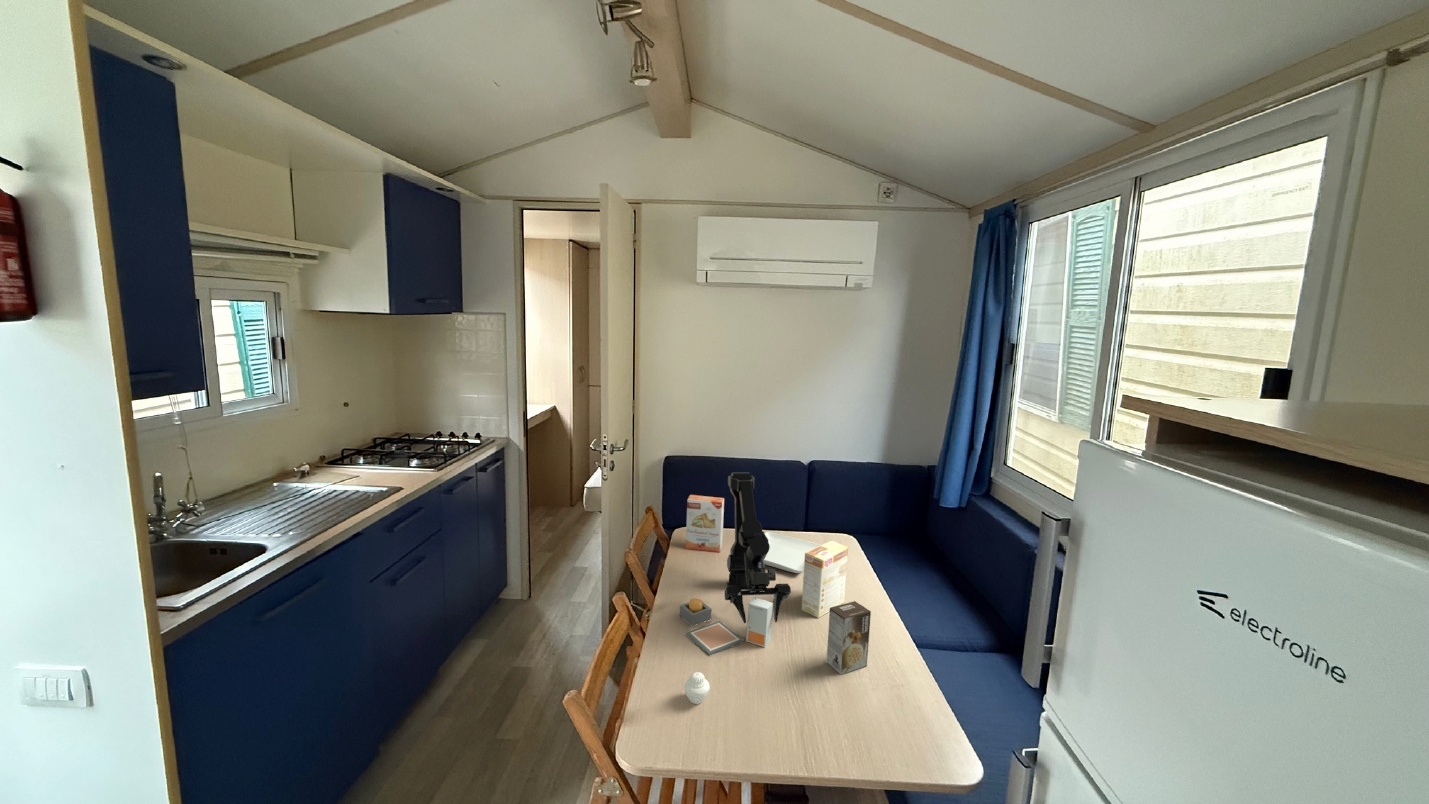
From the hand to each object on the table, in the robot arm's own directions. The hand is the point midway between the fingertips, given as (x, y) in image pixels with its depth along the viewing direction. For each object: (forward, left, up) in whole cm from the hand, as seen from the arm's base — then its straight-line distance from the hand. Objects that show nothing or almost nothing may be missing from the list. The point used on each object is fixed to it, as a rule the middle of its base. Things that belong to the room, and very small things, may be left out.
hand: (760, 622), depth 158 cm
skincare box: (-1, -1, -7) cm, 7 cm away
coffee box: (-14, +20, -7) cm, 25 cm away
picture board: (+9, -9, -7) cm, 15 cm away
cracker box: (-23, -62, -7) cm, 67 cm away
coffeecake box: (-31, -5, -7) cm, 32 cm away
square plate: (-45, -40, -7) cm, 61 cm away
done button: (+8, -21, -4) cm, 23 cm away
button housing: (+8, -21, -7) cm, 24 cm away
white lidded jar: (+28, +10, -7) cm, 30 cm away
